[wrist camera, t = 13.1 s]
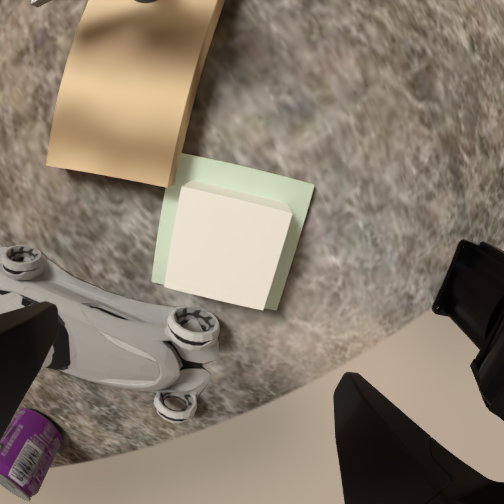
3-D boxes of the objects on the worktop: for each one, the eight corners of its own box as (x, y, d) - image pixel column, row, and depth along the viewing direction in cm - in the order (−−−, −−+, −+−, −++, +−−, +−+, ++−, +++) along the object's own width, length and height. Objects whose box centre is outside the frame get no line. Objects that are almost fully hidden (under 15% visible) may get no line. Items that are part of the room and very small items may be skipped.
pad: (276, 307, 22) (276, 310, 21) (153, 279, 21) (151, 281, 21) (313, 184, 19) (314, 185, 19) (174, 151, 18) (172, 151, 18)
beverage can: (15, 397, 27) (-26, 458, 16) (55, 414, 28) (16, 485, 16) (32, 430, 30) (0, 486, 18) (70, 445, 30) (42, 510, 19)
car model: (202, 405, 26) (196, 446, 21) (-5, 322, 24) (-31, 346, 19) (233, 309, 22) (228, 351, 18) (-15, 226, 20) (-50, 243, 15)
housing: (175, 183, 19) (166, 187, 17) (62, 162, 18) (45, 165, 16) (236, -31, 14) (235, -46, 12) (119, -33, 13) (109, -45, 11)
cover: (261, 288, 21) (263, 310, 18) (175, 267, 20) (164, 286, 18) (286, 202, 19) (292, 213, 16) (192, 180, 18) (181, 186, 16)
